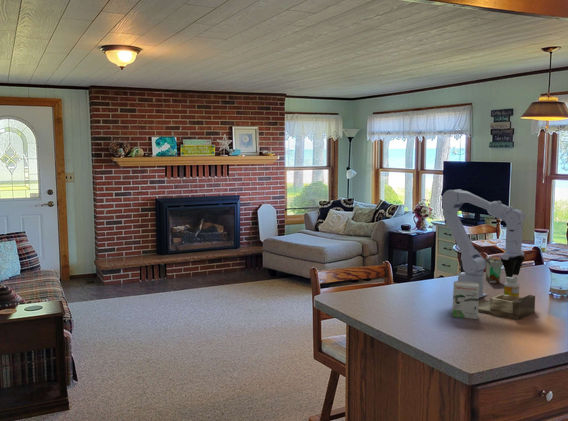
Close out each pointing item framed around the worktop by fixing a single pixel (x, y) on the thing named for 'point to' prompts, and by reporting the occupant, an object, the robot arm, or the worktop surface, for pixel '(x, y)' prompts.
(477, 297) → the ink box
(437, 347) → the worktop surface
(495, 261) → the food container
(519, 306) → the base
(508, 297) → the beige square tray
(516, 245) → the robot arm
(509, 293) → the supplement bottle
